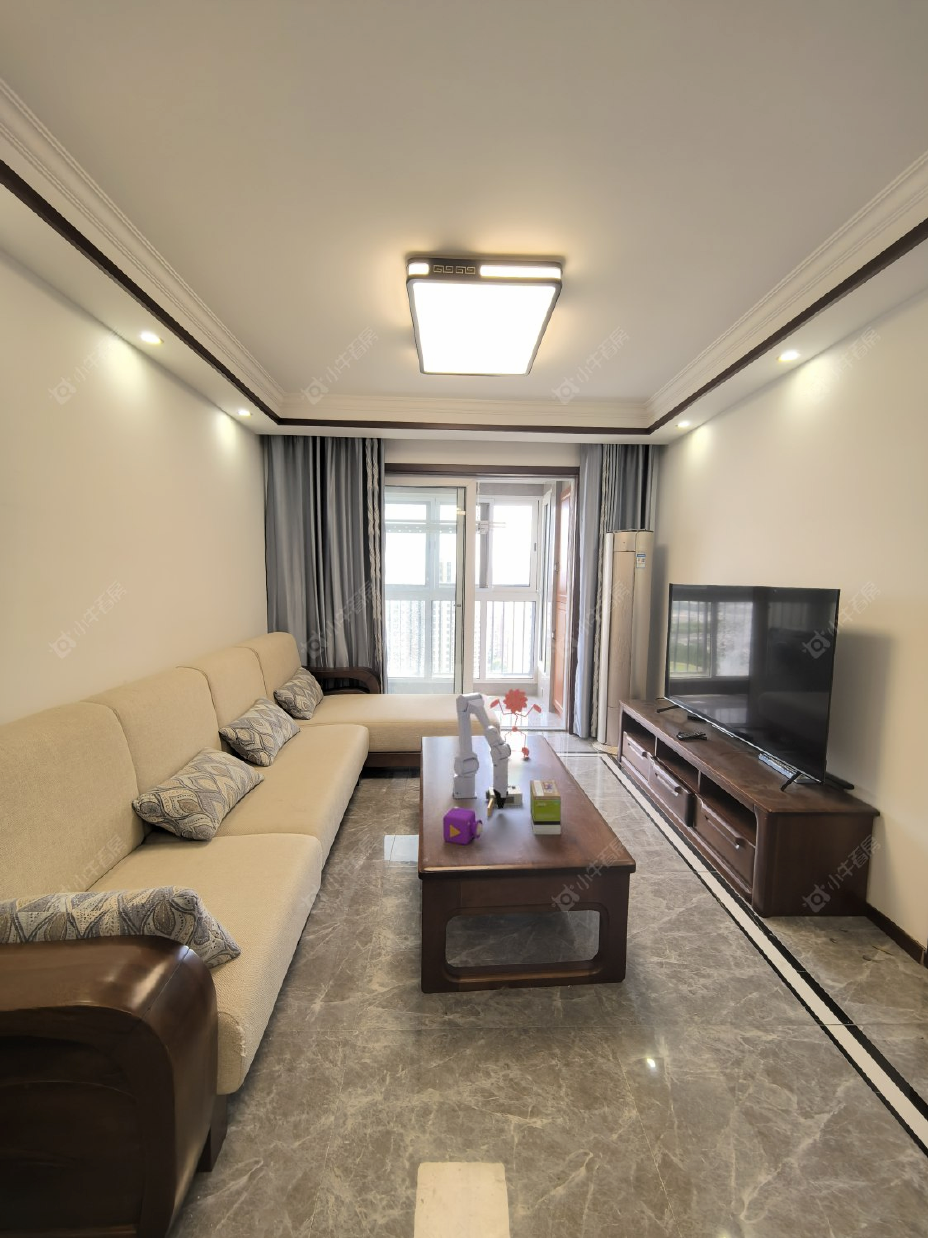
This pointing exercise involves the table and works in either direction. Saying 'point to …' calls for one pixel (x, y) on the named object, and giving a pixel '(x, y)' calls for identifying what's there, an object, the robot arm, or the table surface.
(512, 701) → the figurine
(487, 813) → the side door
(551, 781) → the tea box
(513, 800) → the white knobbed box
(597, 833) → the table surface
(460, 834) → the toy camera
